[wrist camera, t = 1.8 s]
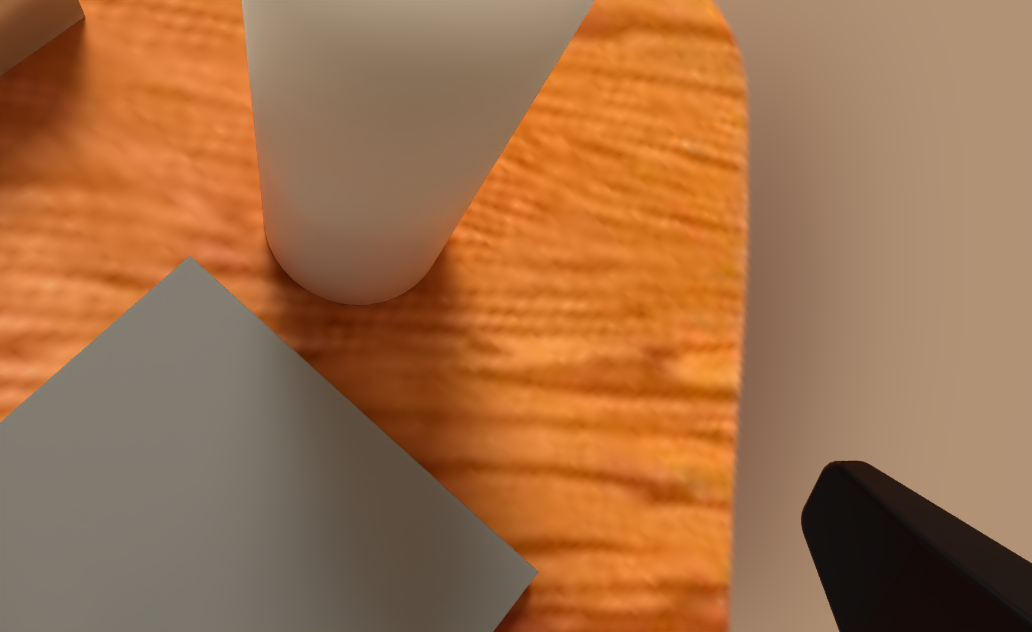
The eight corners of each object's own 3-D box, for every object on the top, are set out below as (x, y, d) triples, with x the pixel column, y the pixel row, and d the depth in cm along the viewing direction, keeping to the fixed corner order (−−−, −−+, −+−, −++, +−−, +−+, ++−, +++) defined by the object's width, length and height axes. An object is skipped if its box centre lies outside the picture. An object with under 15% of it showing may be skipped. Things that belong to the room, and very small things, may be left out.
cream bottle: (478, 221, 23) (671, -63, 11) (361, 342, 21) (445, 155, 10) (352, 103, 23) (417, -311, 11) (223, 216, 21) (138, -133, 9)
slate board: (527, 568, 21) (538, 571, 20) (187, 1012, 17) (181, 1041, 16) (194, 266, 21) (189, 255, 20) (-241, 653, 17) (-274, 662, 16)
